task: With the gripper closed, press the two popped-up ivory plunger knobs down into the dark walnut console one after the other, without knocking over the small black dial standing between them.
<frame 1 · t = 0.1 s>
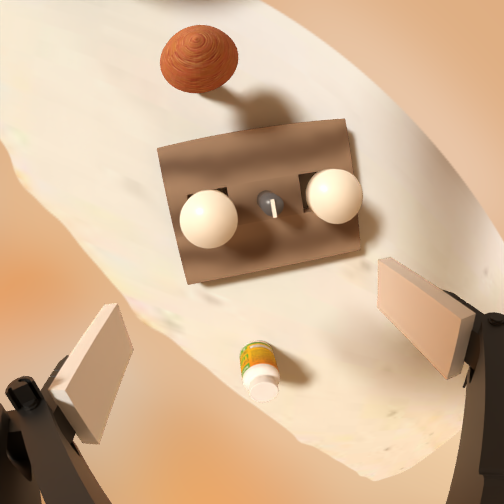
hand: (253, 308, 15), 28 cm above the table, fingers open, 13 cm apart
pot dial: (266, 199, 38), point 3 cm above the table, touching console
knob 2: (329, 194, 35), point 7 cm above the table, slide at 4.0 cm
console: (262, 197, 41), on the table
mushroom: (203, 81, 36), on the table
knob 1: (209, 215, 34), point 7 cm above the table, slide at 4.0 cm
supplement bottle: (255, 352, 48), on the table
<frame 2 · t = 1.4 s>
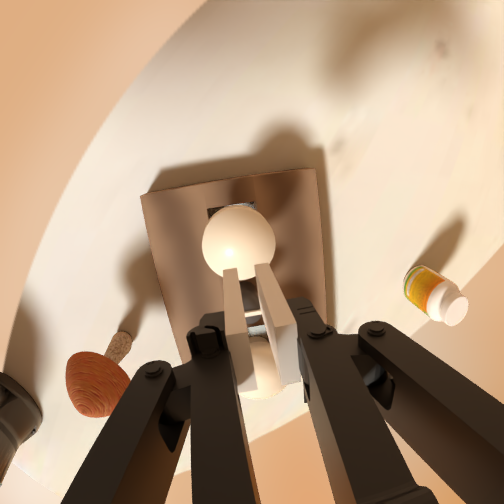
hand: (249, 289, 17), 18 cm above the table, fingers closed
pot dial: (245, 291, 33), point 3 cm above the table, touching console
knob 2: (237, 237, 28), point 7 cm above the table, slide at 4.0 cm
console: (243, 281, 36), on the table
mushroom: (121, 334, 37), on the table
knob 1: (257, 363, 32), point 7 cm above the table, slide at 4.0 cm
supplement bottle: (415, 281, 39), on the table
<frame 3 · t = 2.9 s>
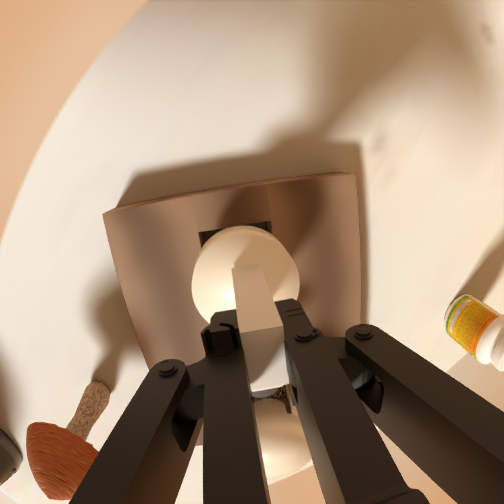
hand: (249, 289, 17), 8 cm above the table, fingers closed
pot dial: (253, 344, 24), point 3 cm above the table, touching console
knob 2: (242, 271, 20), point 5 cm above the table, slide at 2.3 cm, touching gripper
console: (249, 325, 26), on the table
mushroom: (96, 384, 27), on the table
knob 1: (270, 434, 22), point 7 cm above the table, slide at 4.0 cm
supplement bottle: (457, 313, 30), on the table
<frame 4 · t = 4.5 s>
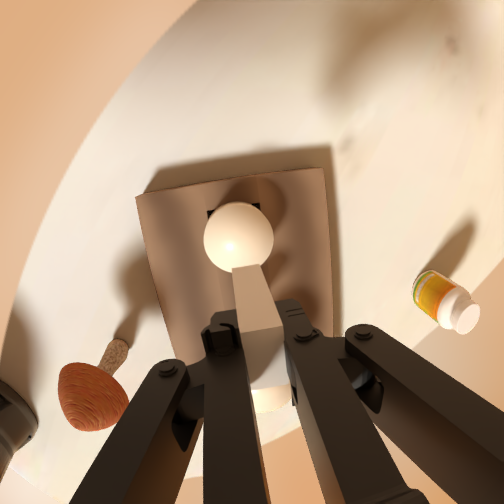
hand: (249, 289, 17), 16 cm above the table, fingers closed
knob 2: (237, 232, 29), point 3 cm above the table, slide at 0.4 cm
console: (245, 287, 34), on the table
mushroom: (117, 342, 35), on the table
knob 1: (260, 374, 30), point 7 cm above the table, slide at 4.0 cm
supplement bottle: (424, 287, 37), on the table
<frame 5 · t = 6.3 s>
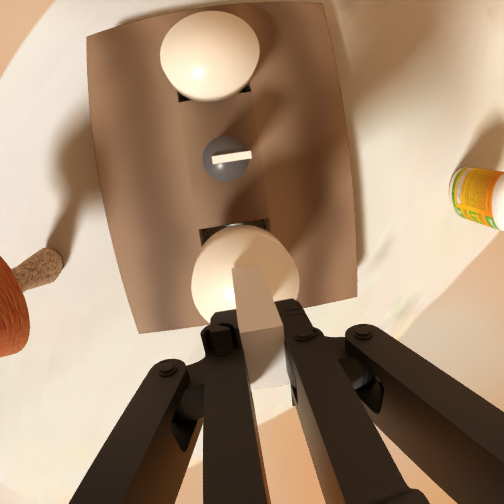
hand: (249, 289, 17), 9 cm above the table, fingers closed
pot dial: (224, 159, 20), point 3 cm above the table, touching console
knob 2: (210, 63, 18), point 3 cm above the table, slide at 0.4 cm
console: (223, 159, 23), on the table
mushroom: (50, 255, 24), on the table
knob 1: (242, 270, 20), point 6 cm above the table, slide at 3.0 cm, touching gripper
supplement bottle: (463, 191, 26), on the table
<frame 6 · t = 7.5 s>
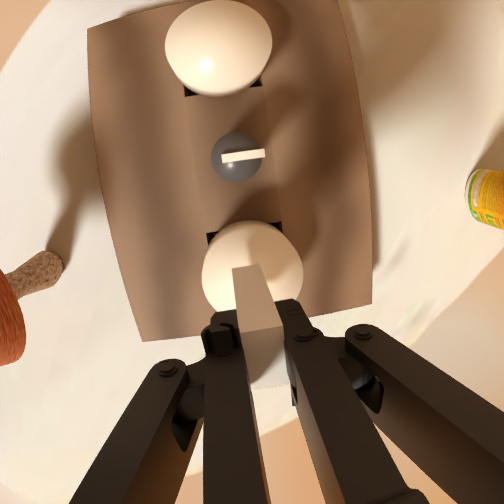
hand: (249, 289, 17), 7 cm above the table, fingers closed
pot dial: (233, 158, 19), point 3 cm above the table, touching console
knob 2: (218, 55, 17), point 3 cm above the table, slide at 0.4 cm
console: (232, 158, 22), on the table
mushroom: (50, 258, 23), on the table
knob 1: (249, 263, 21), point 3 cm above the table, slide at 0.4 cm
supplement bottle: (478, 194, 24), on the table
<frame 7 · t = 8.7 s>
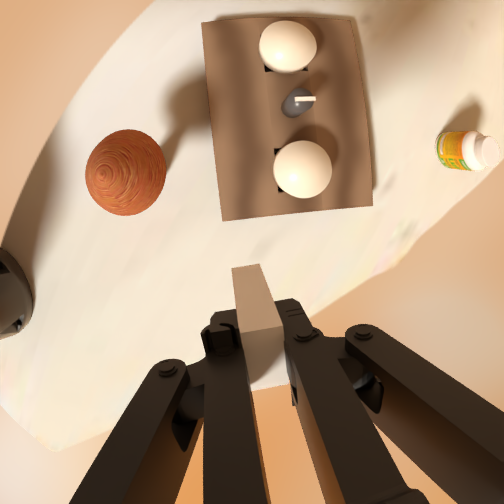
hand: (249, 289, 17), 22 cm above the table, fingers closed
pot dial: (291, 107, 31), point 3 cm above the table, touching console
knob 2: (284, 51, 29), point 3 cm above the table, slide at 0.4 cm
console: (286, 112, 34), on the table
mushroom: (151, 169, 35), on the table
knob 1: (298, 168, 33), point 3 cm above the table, slide at 0.4 cm
supplement bottle: (446, 150, 37), on the table
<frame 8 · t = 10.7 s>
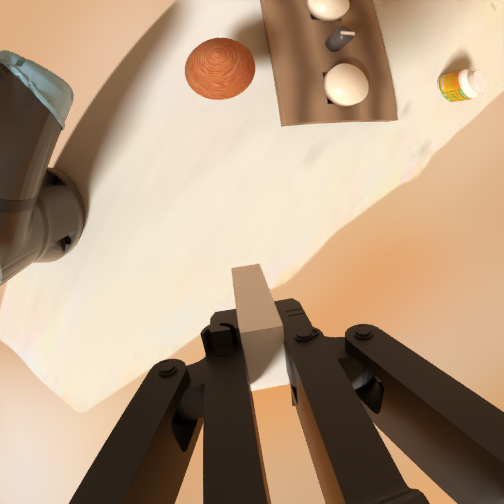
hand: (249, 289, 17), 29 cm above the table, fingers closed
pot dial: (332, 44, 36), point 3 cm above the table, touching console
knob 2: (324, 6, 34), point 3 cm above the table, slide at 0.4 cm
console: (326, 51, 39), on the table
mushroom: (219, 87, 40), on the table
knob 1: (341, 87, 38), point 3 cm above the table, slide at 0.4 cm
supplement bottle: (446, 88, 42), on the table
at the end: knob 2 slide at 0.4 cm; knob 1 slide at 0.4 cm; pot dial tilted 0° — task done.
